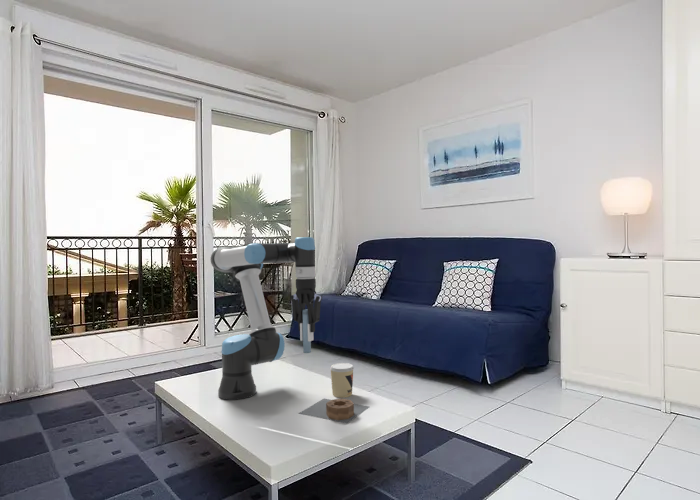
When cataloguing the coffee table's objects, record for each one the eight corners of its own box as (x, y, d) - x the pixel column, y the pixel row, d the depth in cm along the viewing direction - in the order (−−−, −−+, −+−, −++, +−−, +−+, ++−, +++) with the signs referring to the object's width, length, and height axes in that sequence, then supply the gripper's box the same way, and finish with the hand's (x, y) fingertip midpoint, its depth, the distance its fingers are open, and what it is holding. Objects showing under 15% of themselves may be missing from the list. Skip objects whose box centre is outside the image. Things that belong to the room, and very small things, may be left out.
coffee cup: (351, 400, 170) (351, 369, 170) (328, 399, 172) (327, 368, 172) (356, 392, 180) (355, 363, 179) (333, 391, 181) (333, 362, 181)
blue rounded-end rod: (301, 352, 165) (300, 310, 165) (306, 351, 167) (305, 309, 167) (308, 353, 163) (307, 310, 163) (312, 351, 166) (311, 309, 166)
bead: (322, 416, 153) (322, 405, 153) (335, 408, 161) (335, 397, 161) (344, 421, 148) (344, 409, 148) (357, 412, 156) (357, 401, 156)
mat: (298, 414, 156) (298, 413, 156) (323, 399, 171) (323, 398, 171) (347, 425, 147) (347, 423, 147) (369, 408, 162) (369, 406, 162)
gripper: (282, 278, 166) (284, 340, 166) (317, 279, 158) (319, 344, 158) (294, 277, 172) (295, 336, 172) (328, 277, 165) (330, 340, 165)
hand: (306, 340), depth 165 cm, fingers closed on blue rounded-end rod, 3 cm apart
